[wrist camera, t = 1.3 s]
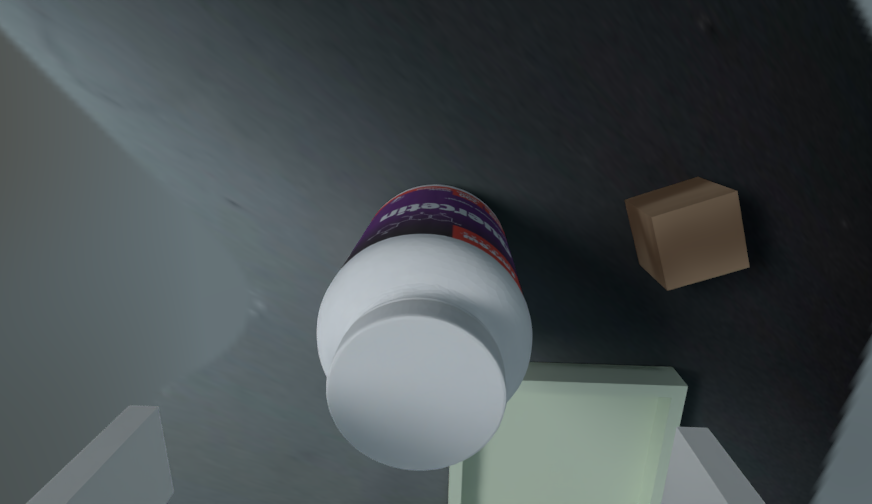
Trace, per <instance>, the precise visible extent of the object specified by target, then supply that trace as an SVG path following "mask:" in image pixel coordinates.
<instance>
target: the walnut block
mask: <svg viewBox="0 0 872 504" xmlns="http://www.w3.org/2000/svg"><path fill="white" fill-rule="evenodd" d="M625 204H626V208H627V213H628V217H629V221H630V226H631V230H632V234H633V239H634V243H635V247H636V252H637V256H638V260H639V264H640V265H641V266H642V267H643V268H644V269H645V270H646V271H647V272H648V273H649V274H650V275H651V276H652V277H653V278H654V279H656V280H657V281H658V282H659V283H660V284H661V285H662V286H663V287H664V288H665V289H666V290H667V291H668V290H672V289H675V288H679V287H682V286H686V285H689V284H693V283H696V282H700V281H703V280H707V279H710V278H714V277H717V276H721V275H724V274H728V273H731V272H735V271H738V270H742V269H745V268H749V260H748V254H747V248H746V242H745V235H744V229H743V223H742V217H741V210H740V204H739V198H738V191H736V190H733V189H730V188H728V187H725V186H722V185H719V184H716V183H714V182H711V181H708V180H705V179H702V178H700V177H696V178H693V179H689V180H686V181H683V182H680V183H677V184H674V185H670V186H667V187H664V188H661V189H658V190H654V191H651V192H648V193H645V194H642V195H639V196H635V197H632V198H629V199H626V200H625Z"/></svg>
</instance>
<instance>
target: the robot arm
mask: <svg viewBox="0 0 872 504" xmlns="http://www.w3.org/2000/svg"><path fill="white" fill-rule="evenodd" d="M173 493H174V488H173V483H172V477H171V472H170V466H169V461H168V455H167V450H166V445H165V439H164V434H163V428H162V423H161V417H160V412H159V406H135V405H129V406H128V407H127V408H126V409H125V410H124V411H123V412H122V413H121V414H120V415H119V416H117V418H115V419H114V420H113V421H112V422H111V423H110V424H109V425H108V426H107V427H106V428H105V429H104V430H103V431H102V432H101V433H100V434H99V435H97V437H95V438H94V439H93V440H92V441H91V442H90V443H89V444H88V445H87V446H86V447H85V448H84V449H83V450H82V451H81V452H80V453H79V454H78V455H76V456H75V457H74V459H72V460H71V461H70V462H69V463H68V464H67V465H66V466H65V467H64V468H63V469H62V470H61V471H60V472H59V473H58V474H57V475H56V476H54V477H53V479H51V480H50V481H49V482H48V483H47V484H46V485H45V486H44V487H43V488H42V489H41V490H40V491H39V492H38V493H37V494H36V495H35V496H34V497H32V498H31V499H30V501H28V502H27V503H26V504H166V503H167V502H168V500H169V499H170V498H171V496H172V495H173ZM661 504H765V502H764V501H763V500H762V498H761V497H760V496H759V494H758V493H757V492H756V491H755V489H754V488H753V487H752V485H751V484H750V483H749V481H748V480H747V479H746V477H745V476H744V475H743V473H742V472H741V471H740V469H739V468H738V467H737V466H736V464H735V463H734V462H733V460H732V459H731V458H730V456H729V455H728V454H727V452H726V451H725V450H724V448H723V447H722V446H721V444H720V443H719V442H718V441H717V439H716V438H715V437H714V435H713V434H712V433H711V431H710V430H709V429H708V428H699V427H676V432H675V437H674V442H673V447H672V452H671V457H670V462H669V467H668V472H667V476H666V481H665V486H664V491H663V496H662V501H661Z"/></svg>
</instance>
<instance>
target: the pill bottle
mask: <svg viewBox="0 0 872 504" xmlns="http://www.w3.org/2000/svg"><path fill="white" fill-rule="evenodd" d="M317 346H318V353H319V357H320V361H321V364H322V367H323V370H324V372H325V374H326V376H327V382H326V397H327V403H328V407H329V411H330V414H331V416H332V418H333V421H334V423H335V425H336V426H337V428H338V430H339V431H340V432H341V434H342V435H343V436H344V437H345V439H346V440H347V441H348V442H349V443H350V444H351V445H352V446H354V447H355V448H356V449H357V450H358V451H360V452H361V453H363V454H364V455H366V456H368V457H369V458H371V459H373V460H375V461H377V462H380V463H382V464H385V465H388V466H391V467H395V468H399V469H405V470H417V471H422V470H434V469H441V468H444V467H448V466H452V465H454V464H457V463H459V462H461V461H464V460H466V459H468V458H469V457H471V456H472V455H474V454H476V453H477V452H478V451H479V450H481V449H482V448H483V447H484V446H485V445H486V444H487V443H488V442H489V441H490V439H491V438H492V437H493V436H494V434H495V433H496V431H497V430H498V428H499V426H500V424H501V421H502V419H503V416H504V412H505V408H506V403H507V402H508V401H509V400H510V399H511V397H512V396H513V395H514V393H515V392H516V391H517V389H518V388H519V386H520V384H521V382H522V380H523V378H524V376H525V374H526V371H527V368H528V365H529V361H530V356H531V349H532V324H531V318H530V314H529V310H528V306H527V303H526V300H525V297H524V294H523V291H522V288H521V284H520V281H519V278H518V275H517V272H516V269H515V265H514V262H513V259H512V255H511V252H510V249H509V246H508V243H507V239H506V236H505V233H504V231H503V228H502V226H501V224H500V222H499V220H498V219H497V217H496V215H495V214H494V213H493V212H492V210H491V209H490V208H489V207H488V206H487V205H486V204H485V203H484V202H483V201H481V200H480V199H479V198H477V197H476V196H474V195H472V194H471V193H469V192H467V191H465V190H462V189H459V188H456V187H453V186H447V185H423V186H418V187H414V188H411V189H408V190H406V191H404V192H402V193H400V194H398V195H397V196H395V197H394V198H392V199H391V200H389V201H388V202H387V203H386V204H385V205H384V206H383V207H382V208H381V209H380V210H379V212H378V213H377V214H376V215H375V217H374V218H373V220H372V221H371V223H370V225H369V226H368V228H367V229H366V231H365V232H364V234H363V235H362V237H361V239H360V240H359V242H358V243H357V245H356V246H355V248H354V249H353V251H352V252H351V254H350V255H349V257H348V258H347V260H346V261H345V263H344V264H343V266H342V267H341V269H340V270H339V272H338V273H337V274H336V276H335V278H334V279H333V281H332V282H331V284H330V286H329V287H328V289H327V291H326V293H325V295H324V298H323V300H322V303H321V306H320V309H319V314H318V320H317Z"/></svg>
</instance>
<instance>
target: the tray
mask: <svg viewBox="0 0 872 504" xmlns="http://www.w3.org/2000/svg"><path fill="white" fill-rule="evenodd" d="M687 388H688V386H687V385H686V383H685V382H684V381H683V379H682V378H681V377H680V376H679V374H678V373H677V372H676V371H675V369H674V368H673V367H664V366H635V365H606V364H578V363H549V362H529V365H528V368H527V371H526V374H525V376H524V378H523V380H522V382H521V384H520V386H519V388H518V389H517V391H516V392H515V393H514V395H513V396H512V397H511V399H510V400H509V401H508V402H507V403H506V408H505V412H504V416H503V419H502V421H501V424H500V426H499V428H498V430H497V431H496V433H495V434H494V436H493V437H492V438H491V439H490V441H489V442H488V443H487V444H486V445H485V446H484V447H483V448H482V449H481V450H479V451H478V452H477V453H476V454H474V455H472V456H471V457H469V458H468V459H466V460H464V461H461V462H459V463H457V464H454V465H452V466H449V488H448V504H661V501H662V496H663V491H664V486H665V481H666V476H667V472H668V467H669V462H670V457H671V452H672V447H673V442H674V437H675V432H676V427H679V426H680V422H681V417H682V412H683V407H684V403H685V398H686V393H687Z"/></svg>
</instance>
